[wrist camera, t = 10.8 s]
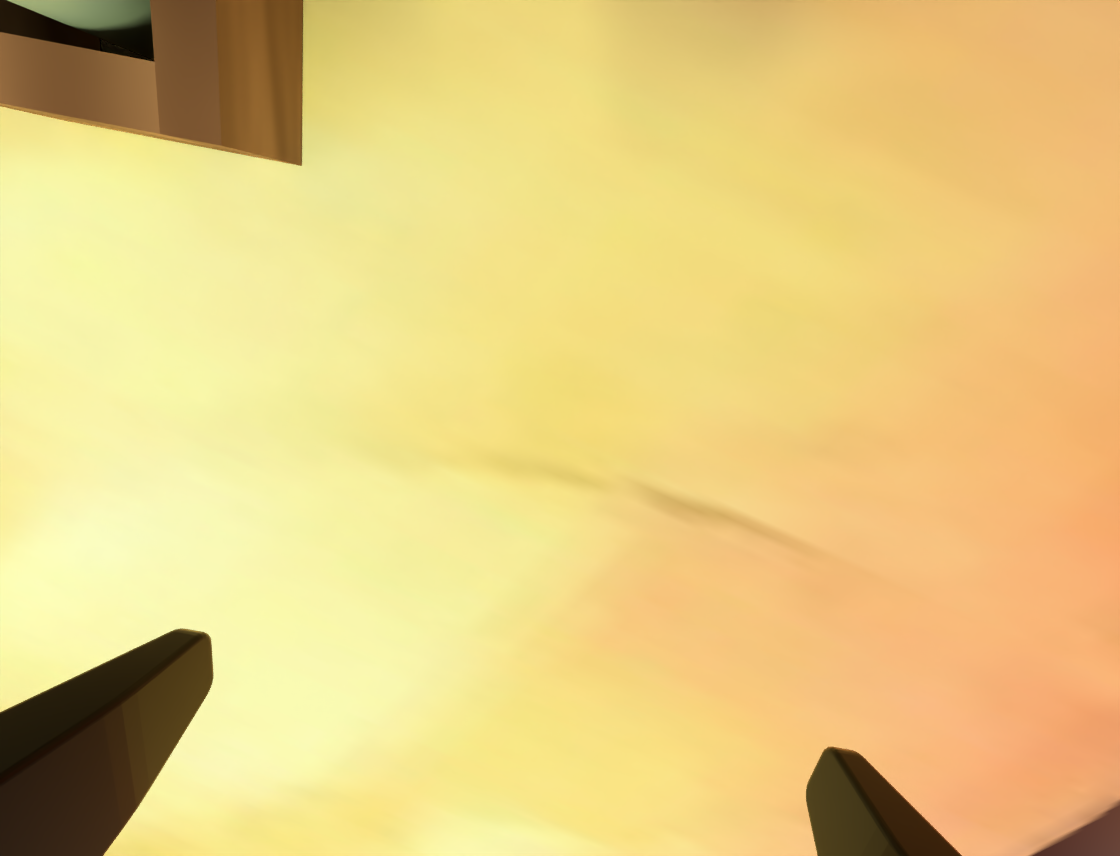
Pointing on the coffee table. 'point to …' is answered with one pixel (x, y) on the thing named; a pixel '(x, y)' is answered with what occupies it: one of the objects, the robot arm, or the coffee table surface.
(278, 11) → the socket block
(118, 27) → the dowel
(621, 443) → the coffee table surface
